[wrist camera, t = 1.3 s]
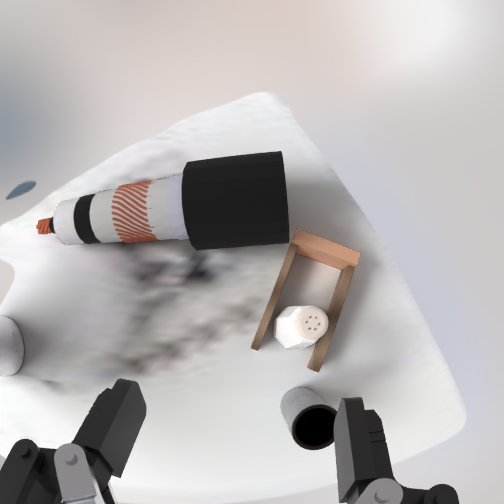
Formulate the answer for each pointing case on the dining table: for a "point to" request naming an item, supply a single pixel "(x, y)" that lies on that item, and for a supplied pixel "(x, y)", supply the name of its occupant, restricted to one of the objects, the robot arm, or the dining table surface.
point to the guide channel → (346, 263)
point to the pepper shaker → (300, 326)
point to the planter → (308, 418)
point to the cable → (185, 207)
